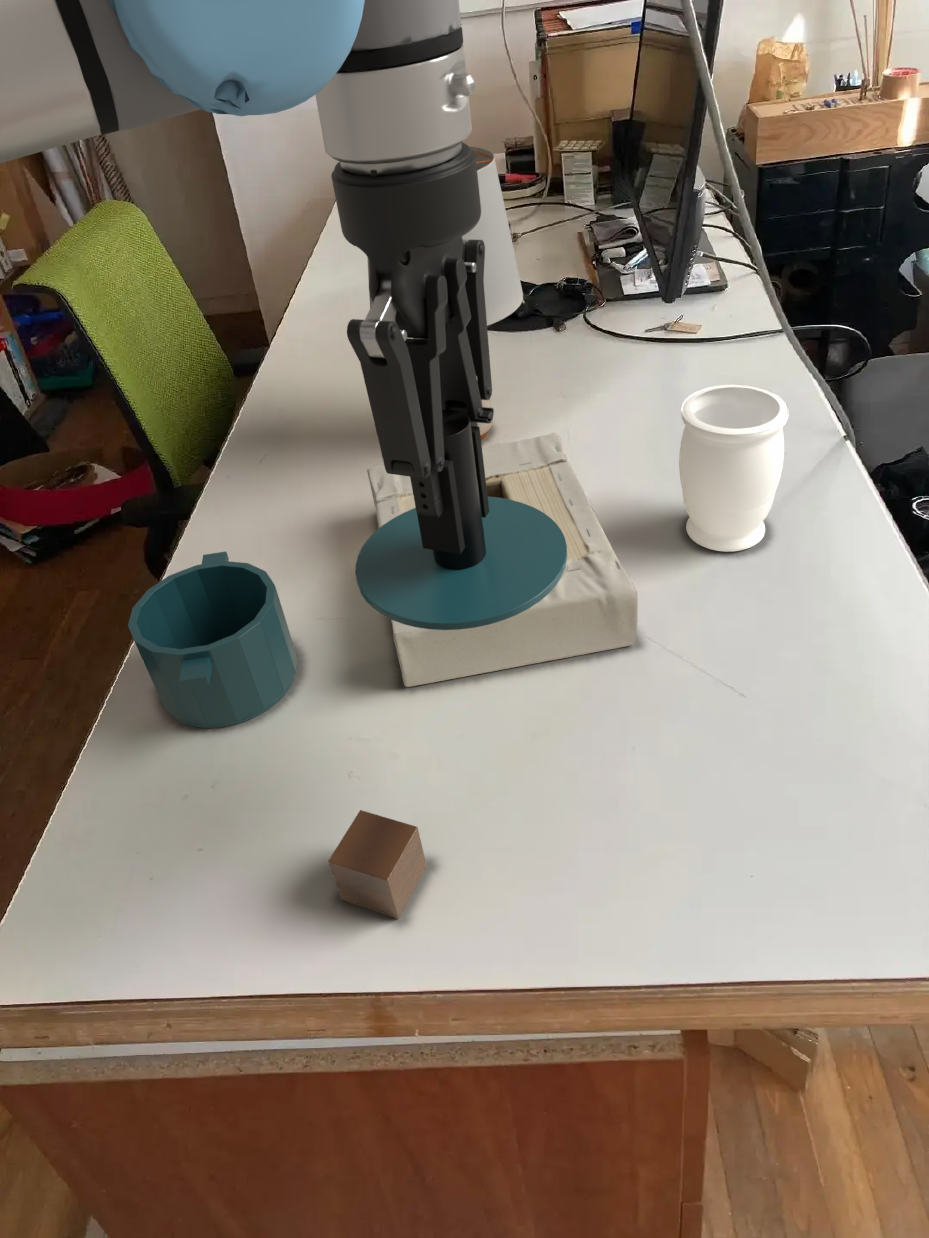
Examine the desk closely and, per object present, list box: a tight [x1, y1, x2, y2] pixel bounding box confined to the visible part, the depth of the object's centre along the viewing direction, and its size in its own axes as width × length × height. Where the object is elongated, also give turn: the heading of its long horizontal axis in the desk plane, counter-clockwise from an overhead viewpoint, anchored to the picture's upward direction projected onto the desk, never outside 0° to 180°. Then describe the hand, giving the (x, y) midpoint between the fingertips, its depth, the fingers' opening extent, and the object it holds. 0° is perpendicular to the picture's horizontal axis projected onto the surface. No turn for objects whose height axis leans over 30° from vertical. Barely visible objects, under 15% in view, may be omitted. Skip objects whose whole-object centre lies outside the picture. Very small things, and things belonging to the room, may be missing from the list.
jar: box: [678, 384, 789, 553], centre depth 97 cm, size 11×10×15 cm
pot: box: [127, 550, 298, 729], centre depth 90 cm, size 14×19×10 cm
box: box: [366, 432, 639, 688], centre depth 99 cm, size 23×8×32 cm
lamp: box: [366, 146, 524, 441], centre depth 115 cm, size 19×19×34 cm
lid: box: [354, 410, 567, 630], centre depth 61 cm, size 15×15×11 cm
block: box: [327, 809, 428, 920], centre depth 71 cm, size 5×5×5 cm
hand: (456, 529), depth 62 cm, fingers closed on lid, 4 cm apart
